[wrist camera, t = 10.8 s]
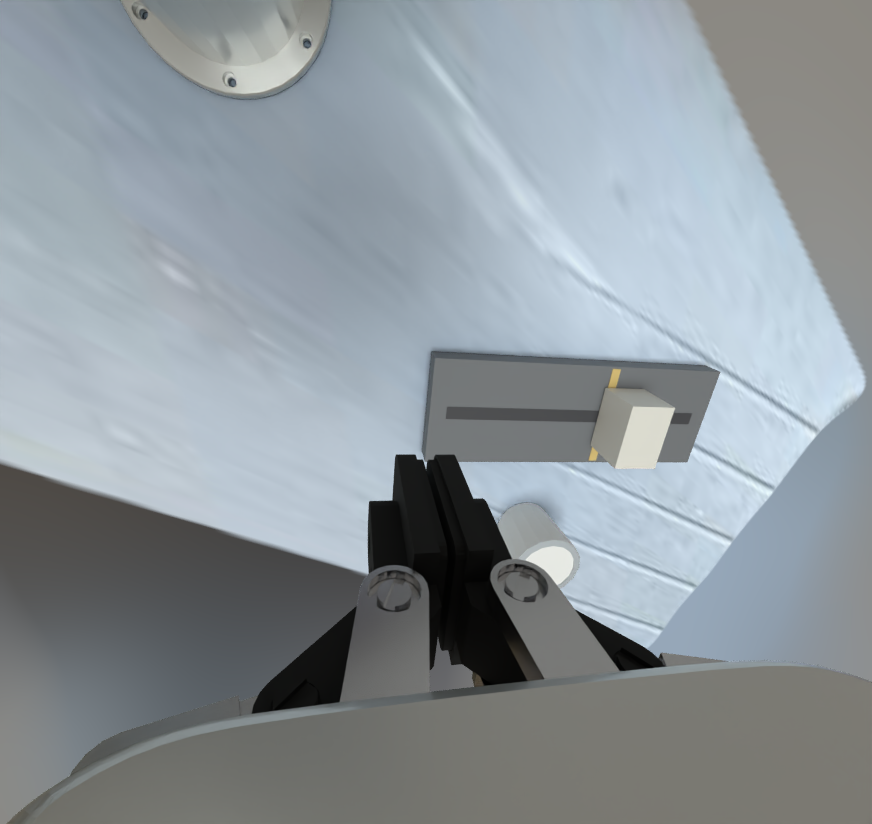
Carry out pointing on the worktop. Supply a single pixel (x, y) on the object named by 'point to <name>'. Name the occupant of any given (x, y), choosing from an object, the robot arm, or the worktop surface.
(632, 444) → the fader knob
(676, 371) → the fader track
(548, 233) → the worktop surface
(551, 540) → the white cylinder
